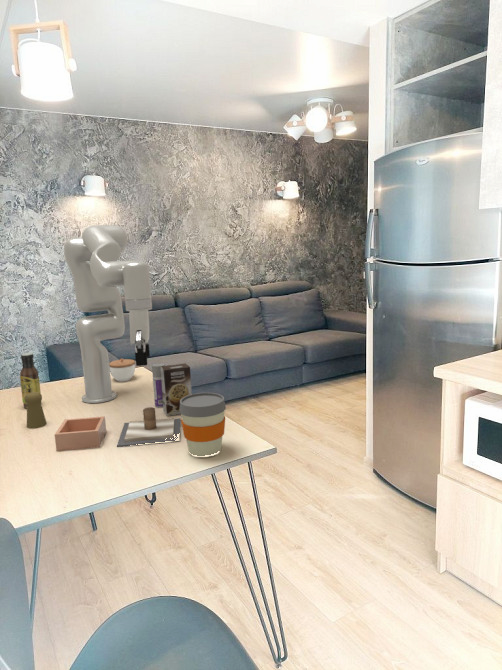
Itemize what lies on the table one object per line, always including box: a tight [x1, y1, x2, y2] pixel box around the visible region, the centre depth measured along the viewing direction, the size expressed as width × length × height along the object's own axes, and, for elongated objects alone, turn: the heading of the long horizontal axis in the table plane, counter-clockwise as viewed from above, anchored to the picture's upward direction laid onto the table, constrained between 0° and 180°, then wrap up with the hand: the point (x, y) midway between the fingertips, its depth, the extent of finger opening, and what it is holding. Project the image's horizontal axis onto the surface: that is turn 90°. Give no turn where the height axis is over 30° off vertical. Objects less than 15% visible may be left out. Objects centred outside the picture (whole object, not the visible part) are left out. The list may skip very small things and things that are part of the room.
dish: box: [54, 415, 107, 452], centre depth 145 cm, size 12×12×5 cm
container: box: [151, 362, 166, 409], centre depth 173 cm, size 5×5×15 cm
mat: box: [116, 417, 182, 448], centre depth 150 cm, size 18×18×1 cm
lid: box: [125, 406, 175, 442], centre depth 150 cm, size 14×14×7 cm
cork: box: [24, 392, 47, 429], centre depth 159 cm, size 6×6×11 cm
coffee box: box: [161, 363, 193, 417], centre depth 166 cm, size 9×6×16 cm
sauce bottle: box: [19, 352, 42, 409], centre depth 177 cm, size 6×6×20 cm
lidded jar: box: [109, 358, 136, 383], centre depth 209 cm, size 11×11×9 cm
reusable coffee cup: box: [180, 392, 227, 456], centre depth 134 cm, size 13×13×15 cm
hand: (143, 361), depth 146 cm, fingers open, 9 cm apart
